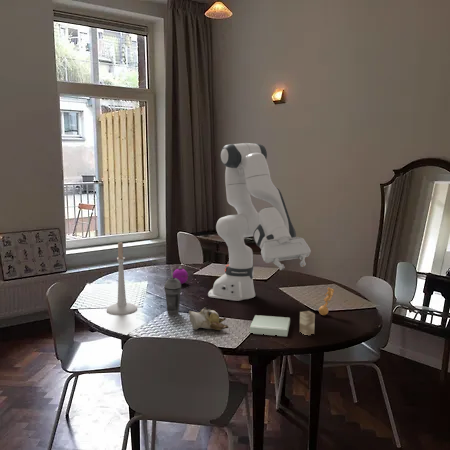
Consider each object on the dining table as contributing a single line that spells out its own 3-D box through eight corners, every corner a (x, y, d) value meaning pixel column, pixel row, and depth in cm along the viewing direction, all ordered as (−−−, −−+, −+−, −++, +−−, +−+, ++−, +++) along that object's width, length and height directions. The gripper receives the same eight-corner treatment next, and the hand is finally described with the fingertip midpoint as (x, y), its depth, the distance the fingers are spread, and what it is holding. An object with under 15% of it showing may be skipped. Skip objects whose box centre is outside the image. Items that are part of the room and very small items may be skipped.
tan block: (305, 335, 180) (305, 315, 179) (299, 332, 184) (300, 312, 183) (314, 334, 182) (314, 313, 181) (308, 330, 186) (309, 310, 184)
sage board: (249, 333, 182) (249, 326, 182) (255, 321, 196) (255, 314, 196) (287, 336, 180) (287, 329, 179) (289, 323, 193) (290, 317, 193)
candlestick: (118, 317, 200) (116, 245, 195) (100, 310, 208) (98, 241, 204) (143, 309, 209) (141, 241, 205) (125, 303, 217) (123, 237, 213)
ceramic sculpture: (188, 302, 191) (226, 303, 192) (187, 323, 192) (225, 324, 194) (189, 311, 180) (229, 313, 182) (188, 333, 182) (227, 334, 183)
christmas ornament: (183, 286, 245) (183, 267, 244) (169, 285, 248) (169, 266, 247) (190, 282, 253) (190, 264, 252) (176, 281, 256) (176, 262, 254)
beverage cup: (168, 317, 199) (167, 270, 196) (161, 312, 205) (161, 266, 202) (184, 315, 202) (184, 268, 199) (177, 310, 209) (177, 264, 206)
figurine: (316, 311, 208) (317, 284, 206) (330, 311, 208) (331, 284, 206) (320, 318, 200) (321, 290, 198) (335, 318, 200) (336, 290, 198)
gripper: (300, 240, 203) (313, 268, 196) (255, 247, 196) (267, 275, 188) (305, 231, 198) (319, 259, 191) (260, 237, 191) (272, 266, 184)
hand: (293, 267), depth 189 cm, fingers open, 8 cm apart
